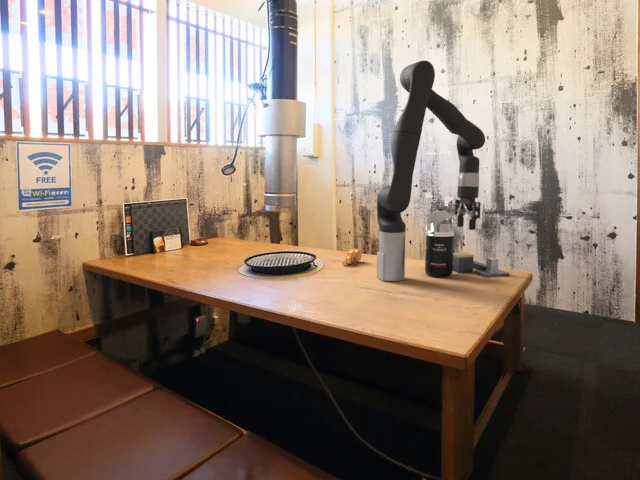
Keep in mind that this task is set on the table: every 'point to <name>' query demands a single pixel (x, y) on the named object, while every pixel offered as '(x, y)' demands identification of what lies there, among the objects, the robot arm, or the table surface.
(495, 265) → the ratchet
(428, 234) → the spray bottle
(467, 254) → the khaki matte cube
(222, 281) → the table surface
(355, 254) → the figurine
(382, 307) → the table surface
